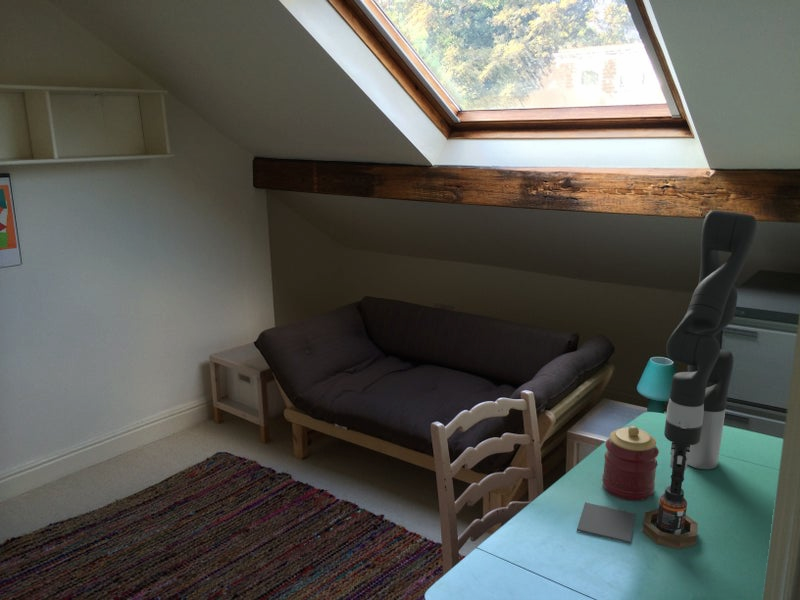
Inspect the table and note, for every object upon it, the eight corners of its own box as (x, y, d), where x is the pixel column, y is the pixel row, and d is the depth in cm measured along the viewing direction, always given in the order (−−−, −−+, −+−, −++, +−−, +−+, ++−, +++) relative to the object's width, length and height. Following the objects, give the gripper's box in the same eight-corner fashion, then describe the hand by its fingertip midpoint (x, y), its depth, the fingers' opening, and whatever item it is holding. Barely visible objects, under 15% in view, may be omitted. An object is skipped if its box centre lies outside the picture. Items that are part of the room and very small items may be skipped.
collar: (645, 513, 169) (646, 504, 169) (696, 524, 165) (697, 515, 164) (641, 540, 159) (642, 531, 158) (695, 553, 155) (697, 543, 154)
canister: (664, 498, 175) (671, 436, 170) (617, 505, 173) (623, 441, 168) (637, 472, 188) (643, 413, 183) (592, 477, 185) (598, 417, 180)
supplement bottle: (685, 541, 159) (691, 498, 155) (658, 538, 160) (663, 495, 156) (680, 526, 164) (686, 484, 161) (654, 523, 165) (659, 481, 162)
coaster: (584, 504, 173) (585, 502, 173) (635, 515, 168) (635, 513, 168) (576, 531, 162) (576, 528, 162) (630, 543, 158) (630, 541, 158)
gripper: (667, 404, 161) (660, 466, 166) (664, 429, 149) (656, 496, 153) (702, 409, 159) (694, 472, 163) (702, 435, 146) (693, 503, 150)
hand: (675, 484), depth 158 cm, fingers open, 8 cm apart
